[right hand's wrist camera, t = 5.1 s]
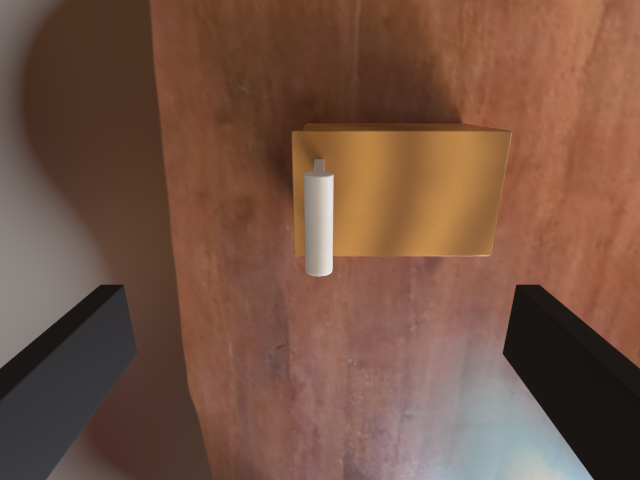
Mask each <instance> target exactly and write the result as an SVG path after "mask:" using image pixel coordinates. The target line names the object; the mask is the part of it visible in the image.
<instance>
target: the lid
mask: <svg viewBox="0 0 640 480" xmlns="http://www.w3.org/2000/svg"><path fill="white" fill-rule="evenodd" d="M511 133H512V131H508V130H292V170H293V210H294V249H295V256H305V270H306V272H307V273H308V274H310V275H313V276H325V275H328V274H330V273H331V272H332V265H333V256H491V253H492V247H493V241H494V235H495V229H496V223H497V217H498V211H499V205H500V199H501V193H502V187H503V181H504V175H505V169H506V163H507V157H508V151H509V145H510V139H511Z"/></svg>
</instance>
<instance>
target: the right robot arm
mask: <svg viewBox="0 0 640 480" xmlns="http://www.w3.org/2000/svg"><path fill="white" fill-rule="evenodd" d="M136 355H137V350H136V345H135V339H134V334H133V329H132V324H131V319H130V314H129V309H128V304H127V299H126V295H125V289H124V285H100V286H99V287H97V288H96V289H95V290H94V291H93V292H91V293H90V294H89V295H88V296H87V297H85V298H84V299H83V300H82V301H81V302H79V303H78V304H77V305H76V306H75V307H73V308H72V309H71V310H70V311H69V312H68V313H66V314H65V315H64V316H63V317H62V318H60V319H59V320H58V321H57V322H56V323H54V324H53V325H52V326H51V327H50V328H48V329H47V330H46V331H45V332H44V333H42V334H41V335H40V336H39V337H38V338H36V339H35V340H34V341H33V342H32V343H30V344H29V345H28V346H27V347H26V348H24V349H23V350H22V351H21V352H20V353H18V354H17V355H16V356H15V357H14V358H12V359H11V360H10V361H9V362H8V363H6V364H5V365H4V366H3V367H2V368H1V369H0V480H46V479H47V478H48V476H49V475H50V473H51V472H52V471H53V469H54V468H55V467H56V465H57V464H58V463H59V461H60V460H61V458H62V457H63V456H64V454H65V453H66V451H67V450H68V449H69V447H70V446H71V445H72V443H73V442H74V440H75V439H76V438H77V436H78V435H79V434H80V432H81V431H82V429H83V428H84V427H85V425H86V424H87V422H88V421H89V420H90V418H91V417H92V416H93V414H94V413H95V411H96V410H97V409H98V407H99V406H100V405H101V403H102V402H103V400H104V399H105V398H106V396H107V395H108V394H109V392H110V391H111V389H112V388H113V387H114V385H115V384H116V382H117V381H118V380H119V378H120V377H121V376H122V374H123V373H124V371H125V370H126V369H127V367H128V366H129V364H130V363H131V362H132V360H133V359H134V358H135V356H136ZM503 355H504V356H505V358H506V359H507V360H508V362H509V363H510V365H511V366H512V367H513V369H514V370H515V371H516V373H517V374H518V376H519V377H520V378H521V380H522V381H523V382H524V384H525V385H526V387H527V388H528V389H529V391H530V392H531V394H532V395H533V396H534V398H535V399H536V400H537V402H538V403H539V405H540V406H541V407H542V409H543V410H544V411H545V413H546V414H547V416H548V417H549V418H550V420H551V421H552V422H553V424H554V425H555V427H556V428H557V429H558V431H559V432H560V434H561V435H562V436H563V438H564V439H565V440H566V442H567V443H568V445H569V446H570V447H571V449H572V450H573V451H574V453H575V454H576V456H577V457H578V458H579V460H580V461H581V463H582V464H583V465H584V467H585V468H586V469H587V471H588V472H589V474H590V475H591V476H592V478H593V479H594V480H640V368H638V367H637V366H636V365H635V364H634V363H632V362H631V361H630V360H629V359H628V358H626V357H625V356H624V355H623V354H622V353H620V352H619V351H618V350H617V349H616V348H614V347H613V346H612V345H611V344H610V343H608V342H607V341H606V340H605V339H604V338H602V337H601V336H600V335H599V334H598V333H596V332H595V331H594V330H593V329H592V328H590V327H589V326H588V325H587V324H586V323H584V322H583V321H582V320H581V319H580V318H578V317H577V316H576V315H575V314H574V313H572V312H571V311H570V310H569V309H568V308H567V307H565V306H564V305H563V304H562V303H561V302H559V301H558V300H557V299H556V298H555V297H553V296H552V295H551V294H550V293H549V292H547V291H546V290H545V289H544V288H543V287H541V286H540V285H516V289H515V294H514V299H513V304H512V309H511V314H510V319H509V324H508V329H507V334H506V339H505V345H504V350H503Z"/></svg>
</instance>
